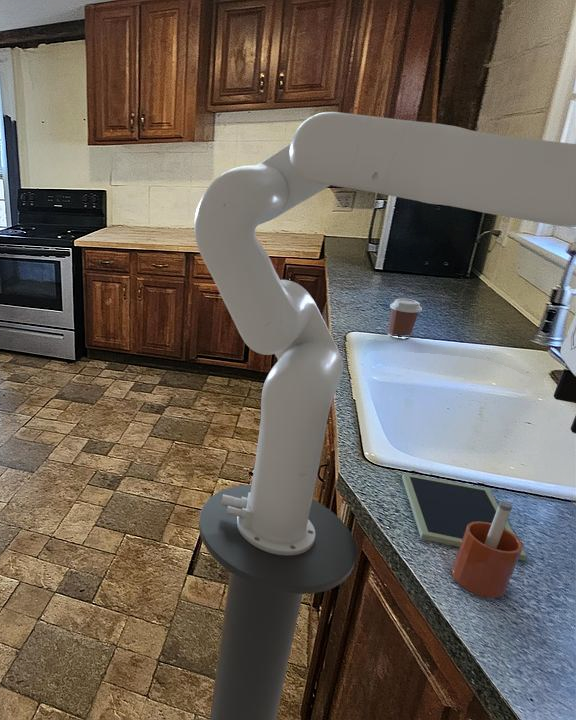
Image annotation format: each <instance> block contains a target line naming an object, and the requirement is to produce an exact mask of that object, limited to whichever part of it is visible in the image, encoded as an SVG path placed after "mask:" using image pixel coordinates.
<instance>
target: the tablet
mask: <svg viewBox="0 0 576 720" xmlns="http://www.w3.org/2000/svg"><path fill="white" fill-rule="evenodd" d="M401 480H402V483H403V486H404V489H405V492H406V495H407V497H408V502H409V505H410V508H411V511H412V514H413V517H414V521H415V523H416V527H417V530H418V534H419V537H420V539H421V540H424V541H429V542H433V543H439V544H443V545H447V546H452V547H457V548H459V547H460V544H461V541H462V539H463V536H464V533H465V530H466V527H467V525H468V524H469V523H471V522H477V521H480V522H488V523H491V524H492V522H493V519H494V517H495V514H496V511H497V508H498V506H499V503H498V501H497V500H496V498H495V497H494V495H493V493H492V491H491V489H490V488H487V487H482V486H477V485H471V484H466V483H461V482H454V481H450V480H449V481H448V480H443V479H437V478H432V477H426V476H423V475H422V476H421V475H416V474H410V473H405V472H403V473H402V474H401ZM504 529H506V530H508V531H509V532H511V533H513V534H514V535H515V536H516V534H515V533H514V531H513V528H512V526H511V525H510V523H509V521H507V522H506V525H505V527H504ZM527 557H528V556H527V554H526V552H525V550H524V547H522V551H521V554H520V556H519V559H518V561H521V562H525V561H526V559H527Z"/></svg>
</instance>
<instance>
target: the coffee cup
mask: <svg viewBox="0 0 576 720" xmlns="http://www.w3.org/2000/svg"><path fill="white" fill-rule="evenodd" d="M389 308H390V309H391V312H390V316H389V317H390V318H389V326H388V333H387V336H388V337H390V336H396V335H392V334H390V333H393V334H397V335H410V336H408V337H411V335H412V333H413V329H414V327H415V324H416V321H417V319H418V315H419V313H421V312H422V310H423V307H422V306H421V305H420V301H417V300H415V299H411V298H396V299H395V300H394V301H393V302H391V303H390V304H389ZM389 332H390V333H389ZM398 337H402V336H398Z"/></svg>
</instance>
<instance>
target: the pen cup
mask: <svg viewBox="0 0 576 720" xmlns="http://www.w3.org/2000/svg"><path fill="white" fill-rule="evenodd" d="M491 525H492V524H491V523H488V522H480V521H477V522H471V523H469V524H468V525H467V527H466V530H465V533H464V536H463V539H462V541H461V544H460V547H458V549H457V553H456V556H455V559H454V562H453V565H452V568H451V574H452V578H453V579H454V580H455V581H456V582H457V584H458V585H460V586H461V587H462V588H464V589H466V590H467V591H468V592H470V593H472V594H475V595H477V596H481V597H484V598H488V599H497V598H500V597H502V596H504V594H505V592H506V590H507V588H508V586H509V583H510V581H511V578H512V576H513V574H514V572H515V571H514V570H515V569H516V566H517V564H518V561H519V560H518V559H519V556H520V554H521V551H522V548H524V547H523V546H524V545H523V543H522V541H521V540H520V539H519V538H518V537H517V536H516V534H515V533H514V534H515V535H514V534H513V533H511V532H509V531H508V530H506V529H504V530H503V533H502V535H501V538H500V541H499V543H498V546H497V548H496V549H494V548H491V547H489V546H487V545H485V541H486V538H487V535H488V533H489V530H490V527H491Z"/></svg>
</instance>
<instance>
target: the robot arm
mask: <svg viewBox="0 0 576 720" xmlns="http://www.w3.org/2000/svg"><path fill="white" fill-rule="evenodd" d="M330 186H331V187H332V186H334V187H338V188H345V189H352V190H357V191H363V192H370V193H374V194H380V195H385V196H389V197H395V198H400V199H405V200H406V199H407V200H410V201H411V200H412V201H417V202H420V203H425V204H430V205H441V206H449V207H453V208H460V209H464V210H470V211H474V212H479V213H484V214H489V215H496V216H500V217H506V218H511V219H517V220H522V221H529V222H533V223H539V224H544V225H552V226H556V227H557V226H558V227H566V228H576V143H570V142H561V141H552V140H546V139H545V140H543V139H537V138H527V137H519V136H510V135H505V134H504V135H503V134H496V133H488V132H482V131H478V130H477V131H476V130H471V129H468V128H465V127H461V126H456V125H449V124H442V123H436V122H425V121H418V120H407V119H399V118H392V117H391V118H390V117H381V116H375V115H366V114H356V113H349V112H339V111H323V112H319V113H316V114H314V115H312V116H309V117H308V118H307V119H305V120H304V121H303V122H302V123H300V125H299V126H298V128H296V131H295V132H294V134H293V136H292V138H291V141H290V143H288V144H287V145H286V146H284V147H283V148H281V149H280V150H278V151H276V152H275V153H274V154H271V155H270V156H269V157H267V158H266V159H264V160H263V161H261V162H260V163H257V164H254V165H242V166H236V167H233V168H230V169H228V170H226V171H225V172H223V173H222V174H220V175H219V176H217V177H216V178H215V179H214V180H213V181H211V183H210V184H209V186H208V187H207V189H206V190H205V191H204V193H203V194H202V196H201V198H200V200H199V203H198V205H197V207H196V212H195V215H194V224H193V233H194V239H195V243H196V246H197V249H198V252H199V254H200V256H201V259H202V260H203V262H204V265H205V266H206V268H207V270H208V272H209V274H210V276H211V278H212V280H213V282H214V283H215V285H216V287H217V290H218V292H219V295H220V297H221V299H222V301H223V303H224V305H225V307H226V308H227V311H228V313H229V315H230V317H231V319H232V321H233V323H234V325H235V327H236V329H237V331H238V334H239V335H240V337H241V339H242V341H243V342H244V344H245V345H246V346H247V347H248V348H249V349H250V350H252V351H253V352H255V353H256V354H259V355H263V356H264V355H265V356H271V355H275V357H276V359H277V362H276V363H274V365H273V366H272V368H271V369H270V371H269V373H268V374H267V376H266V378H265V380H264V383H263V386H262V390H261V401H260V423H259V431H258V437H257V444H256V445H257V446H256V453H255V460H254V466H253V472H252V473H253V474H252V481H251V485H252V486H251V492H249V493H248V498H246V497H242V499H240V498H236V497H233V496H228V495H223V497H222V504H221V505H222V506H227V507H228V509H227V514H229V515H233V516H234V515H235V516H238V517H237V526H238V529H239V531H240V533H241V535H242V536H243V537H244V538H245V539H246V540H247V541H248V542H249V543H251V544H252V545H254V546H255V547H257V548H259V549H261V550H263V551H266V552H269V553H272V554H277V555H284V556H288V555H298V554H301V553H304V552H306V551H308V550H309V549H310V548H311V547H312V546H313V544H314V541H315V535H316V534H315V529H314V527H313V525H312V523H311V522H310V520H309V519H308V518H309V513H310V508H311V503H312V499H314V492H315V487H316V484H317V478H318V473H319V467H320V464H321V459H322V458H321V457H322V454H323V453H322V452H323V448H324V443H325V437H326V430H327V425H328V418H329V414H330V410H331V408H332V407H331V406H332V404H333V401H334V397H335V394H336V393H337V390H338V387H339V385H340V383H341V380H342V377H343V374H344V362H343V358H342V355H341V353H340V350H339V348H338V346H337V344H336V342H335V340H334V338H333V336H332V334H331V332H330V329H329V327H328V325H327V323H326V321H325V320H324V317H323V315H322V314H321V312H320V309H319V307H318V306H317V303H316V302H315V300H314V298H313V297H312V295H311V294H310V293H309V291H308V290H307V289H306V288H304V287H303V286H302V285H301V284H299V283H297V282H295V281H292V280H288V279H280V277H279V275H278V273H277V271H276V269H275V267H274V264H273V262H272V259H271V257H270V256H269V254H268V252H267V251H266V249H265V248H264V247H263V246H262V244H261V243H260V241H259V239H258V237H257V235H256V229H257V227H258V226H259V225H262V224H264V223H267V222H270V221H272V220H275V219H276V218H279V216H281V215H283V214H285V213H286V212H288V211H290V210H291V209H293V208H295V207H296V206H298V205H300V204H301V203H302V204H303V202H305V201H307V200H308V199H310V198H312V197H313V196H315V195H317V194H318V193H319V194H320V193H321V192H322V191H324V190H326V189H327V188H329V187H330ZM560 357H561V358H562V360H563V362H564V363H565V364H564V368H563V369H562V371H561V373H560V377H559V380H558V382H557V385H556V388H555V390H554V393H553V398H554V399H555V400H556V401H562V402H567V403H572V404H576V313H575V314H574V317H573V320H572V321H571V324H570V326H569V328H568V330H567V333H566V335H565V337H564V339H563V343H562V344H561V347H560ZM570 431H571V433H572V434H576V415H575V416H574V418H573V421H572V423H571V426H570Z"/></svg>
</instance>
